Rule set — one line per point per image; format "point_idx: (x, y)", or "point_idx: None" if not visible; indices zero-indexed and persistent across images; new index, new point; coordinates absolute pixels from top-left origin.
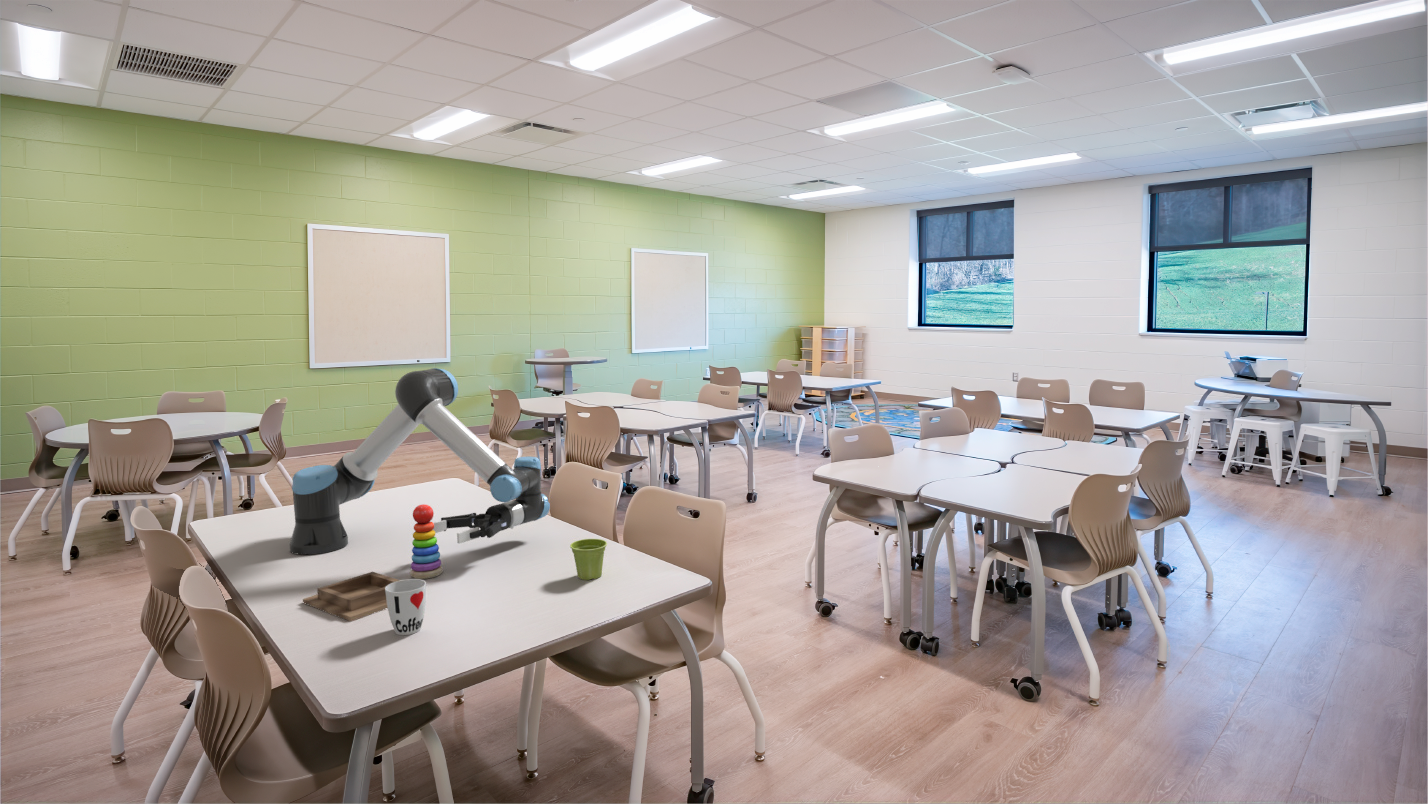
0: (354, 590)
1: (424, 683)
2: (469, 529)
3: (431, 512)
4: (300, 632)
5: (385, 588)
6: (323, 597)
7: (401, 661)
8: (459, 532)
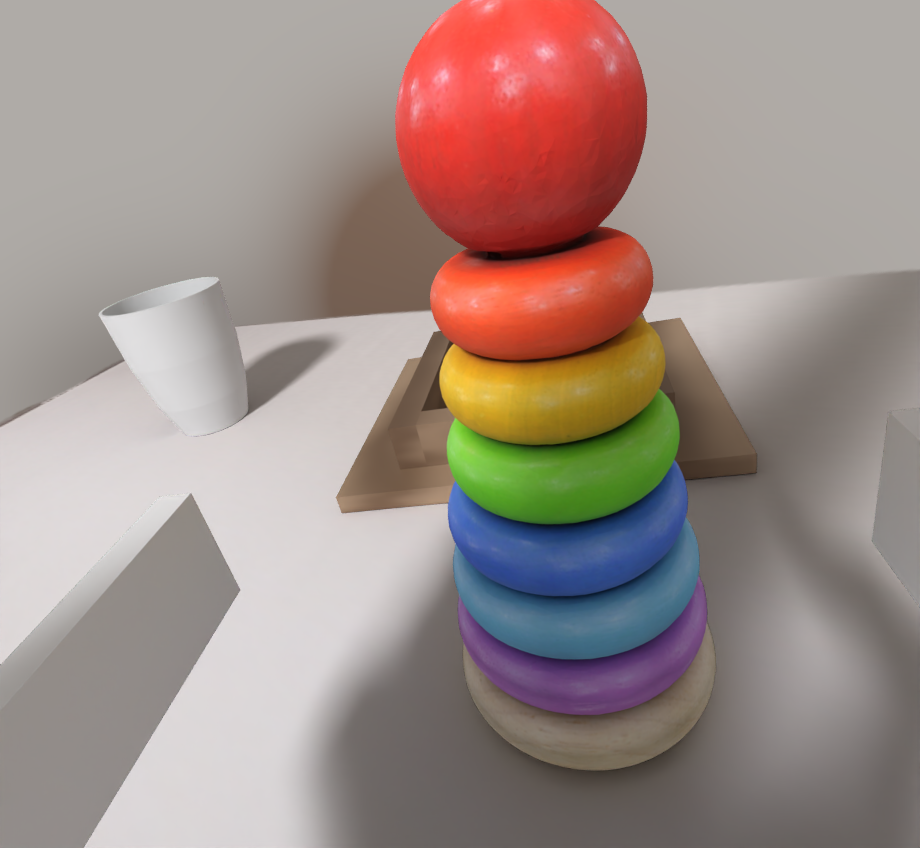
0: None
1: (75, 389)
2: (55, 646)
3: (396, 130)
4: None
5: (210, 277)
6: None
7: None
8: (169, 515)
